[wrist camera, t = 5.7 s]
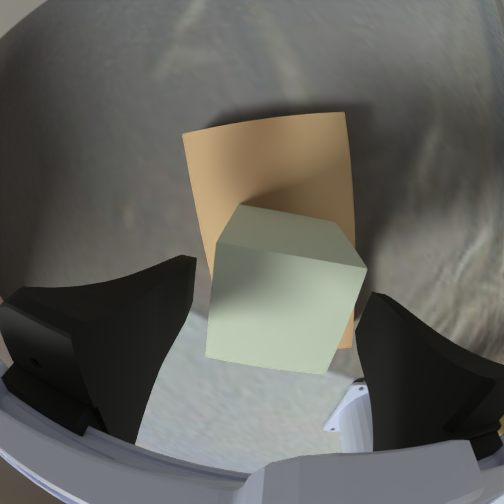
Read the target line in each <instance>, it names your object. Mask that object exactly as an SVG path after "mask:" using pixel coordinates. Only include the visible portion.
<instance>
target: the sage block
mask: <svg viewBox="0 0 504 504" xmlns="http://www.w3.org/2000/svg"><path fill="white" fill-rule="evenodd" d="M367 269H368V268H367V267H366V265H365V264H364V262H363V261H362V259H361V258H360V256H359V255H358V253H357V252H356V250H355V249H354V247H353V246H352V244H351V243H350V241H349V240H348V238H347V237H346V236H345V234H344V233H343V231H342V230H341V228H340V227H339V226H338V224H337V223H336V222H333V221H328V220H323V219H318V218H313V217H308V216H303V215H297V214H292V213H287V212H281V211H276V210H270V209H265V208H259V207H253V206H247V205H241V204H238V206H237V208H236V209H235V211H234V213H233V214H232V216H231V218H230V219H229V221H228V223H227V224H226V226H225V228H224V230H223V231H222V233H221V235H220V236H219V238H218V240H217V242H216V249H215V258H214V267H213V277H212V287H211V297H210V308H209V319H208V331H207V343H206V357H209V358H213V359H218V360H223V361H229V362H234V363H240V364H246V365H252V366H258V367H265V368H272V369H279V370H287V371H295V372H304V373H314V374H325V373H326V371H327V369H328V367H329V365H330V363H331V361H332V358H333V356H334V354H335V352H336V349H337V347H338V345H339V343H340V340H341V338H342V336H343V333H344V331H345V328H346V326H347V323H348V321H349V318H350V316H351V313H352V311H353V308H354V306H355V303H356V300H357V298H358V295H359V292H360V289H361V287H362V284H363V281H364V278H365V275H366V272H367Z"/></svg>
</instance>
